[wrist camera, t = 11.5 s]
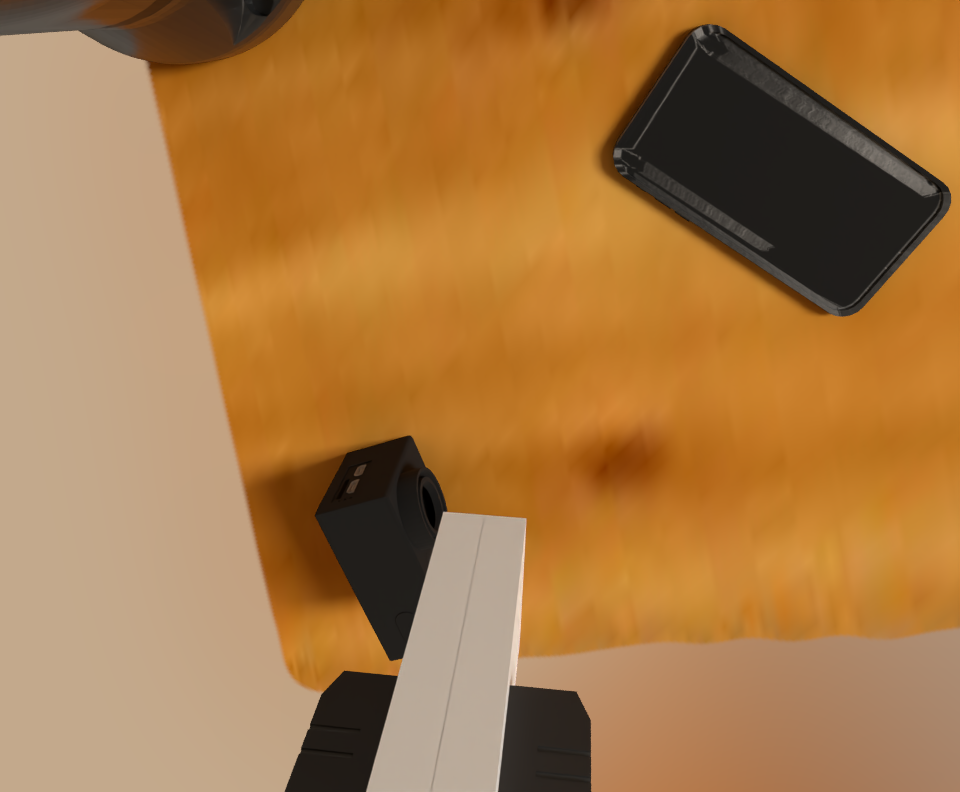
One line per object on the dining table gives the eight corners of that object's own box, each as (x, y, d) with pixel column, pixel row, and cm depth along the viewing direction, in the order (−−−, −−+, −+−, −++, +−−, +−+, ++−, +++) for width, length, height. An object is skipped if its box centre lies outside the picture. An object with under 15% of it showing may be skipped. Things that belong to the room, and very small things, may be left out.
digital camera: (491, 568, 53) (478, 645, 47) (412, 587, 54) (389, 664, 48) (430, 428, 49) (407, 491, 43) (347, 452, 51) (313, 516, 44)
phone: (704, 13, 38) (962, 196, 40) (701, 13, 39) (953, 191, 41) (602, 165, 41) (845, 326, 43) (602, 161, 42) (839, 319, 44)
